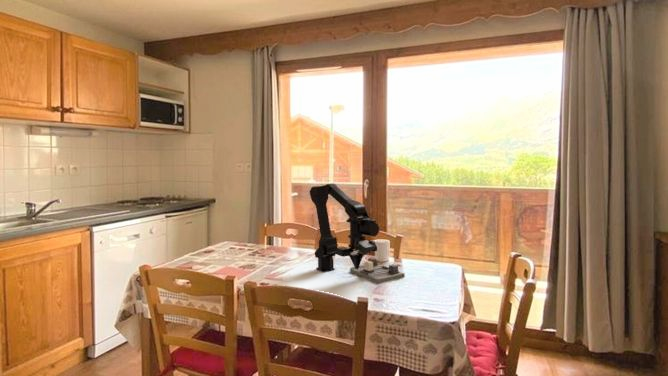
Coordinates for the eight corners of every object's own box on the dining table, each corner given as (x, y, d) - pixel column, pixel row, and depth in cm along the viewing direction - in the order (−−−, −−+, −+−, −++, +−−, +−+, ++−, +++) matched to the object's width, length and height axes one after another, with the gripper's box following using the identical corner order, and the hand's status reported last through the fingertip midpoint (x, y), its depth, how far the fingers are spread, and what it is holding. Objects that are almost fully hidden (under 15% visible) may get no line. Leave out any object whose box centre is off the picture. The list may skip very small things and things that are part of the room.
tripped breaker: (368, 273, 175) (368, 263, 175) (363, 271, 179) (363, 261, 178) (374, 272, 177) (374, 262, 177) (368, 270, 180) (368, 260, 180)
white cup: (389, 262, 201) (389, 242, 200) (373, 261, 202) (373, 242, 202) (390, 258, 209) (390, 239, 208) (375, 257, 210) (375, 238, 209)
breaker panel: (378, 283, 168) (378, 271, 167) (349, 271, 185) (349, 260, 184) (404, 277, 176) (404, 265, 176) (375, 266, 193) (375, 256, 193)
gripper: (350, 239, 161) (350, 277, 162) (385, 233, 171) (385, 269, 172) (334, 234, 170) (334, 270, 171) (369, 230, 181) (369, 264, 182)
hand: (356, 268), depth 174 cm, fingers closed
